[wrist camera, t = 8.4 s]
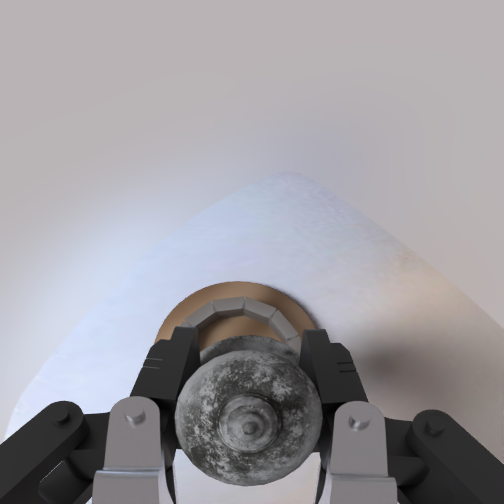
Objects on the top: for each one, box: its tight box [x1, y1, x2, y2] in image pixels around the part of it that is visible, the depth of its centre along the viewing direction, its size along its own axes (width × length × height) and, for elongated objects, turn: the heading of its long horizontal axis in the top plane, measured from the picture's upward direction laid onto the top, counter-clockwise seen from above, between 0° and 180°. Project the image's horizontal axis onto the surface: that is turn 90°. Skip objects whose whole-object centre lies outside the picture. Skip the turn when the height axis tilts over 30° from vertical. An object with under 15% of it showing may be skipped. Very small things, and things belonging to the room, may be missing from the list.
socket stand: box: [154, 281, 316, 354], centre depth 26 cm, size 15×15×4 cm
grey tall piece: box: [175, 335, 323, 486], centre depth 9 cm, size 6×6×12 cm
